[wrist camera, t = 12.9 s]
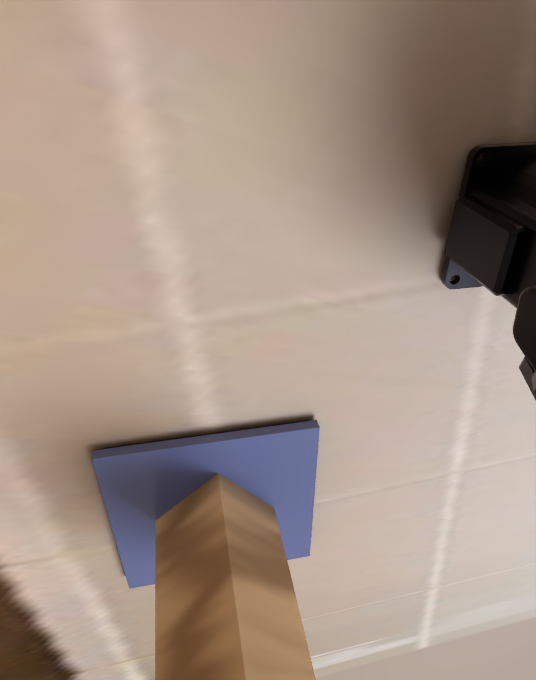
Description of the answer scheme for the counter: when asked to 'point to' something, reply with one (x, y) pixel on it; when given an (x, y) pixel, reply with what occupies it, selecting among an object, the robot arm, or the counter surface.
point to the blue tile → (195, 470)
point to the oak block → (225, 591)
